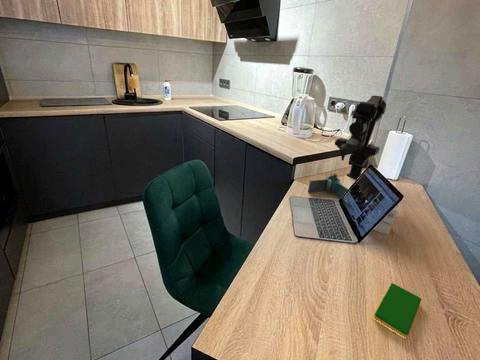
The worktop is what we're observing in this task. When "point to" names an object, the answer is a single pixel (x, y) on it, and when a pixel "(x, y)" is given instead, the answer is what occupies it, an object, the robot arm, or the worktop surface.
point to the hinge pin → (333, 177)
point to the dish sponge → (398, 309)
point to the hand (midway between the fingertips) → (351, 163)
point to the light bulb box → (386, 222)
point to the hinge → (327, 186)
